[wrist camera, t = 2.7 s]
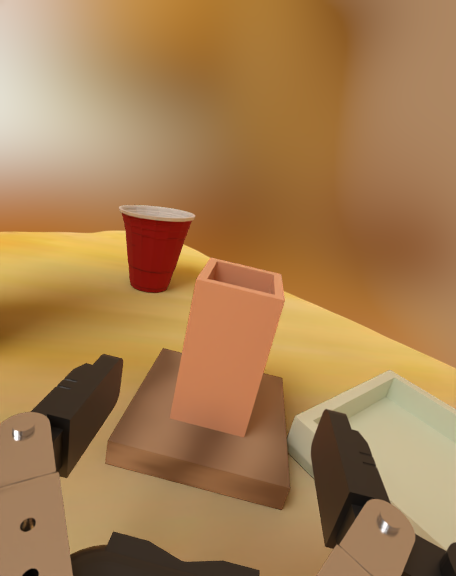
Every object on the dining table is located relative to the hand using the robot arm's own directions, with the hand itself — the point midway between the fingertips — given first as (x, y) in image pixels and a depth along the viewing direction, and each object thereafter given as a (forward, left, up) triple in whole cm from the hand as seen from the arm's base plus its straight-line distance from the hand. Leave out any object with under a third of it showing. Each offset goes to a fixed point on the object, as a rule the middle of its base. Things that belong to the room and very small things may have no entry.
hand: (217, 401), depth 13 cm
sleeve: (-8, +8, -9) cm, 15 cm away
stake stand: (-8, +8, -11) cm, 16 cm away
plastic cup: (-36, +16, -12) cm, 41 cm away
